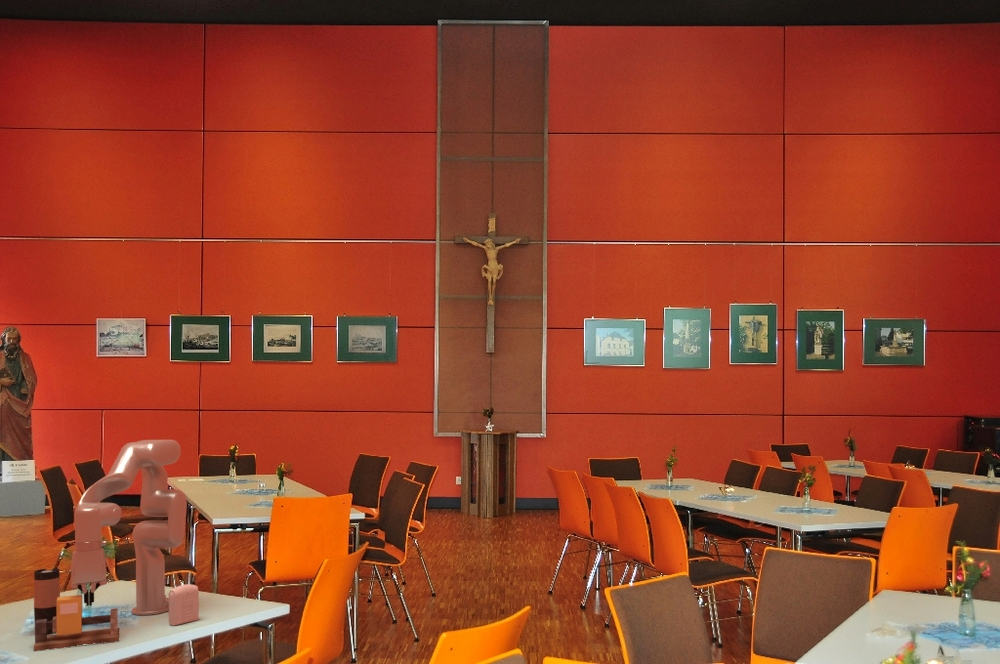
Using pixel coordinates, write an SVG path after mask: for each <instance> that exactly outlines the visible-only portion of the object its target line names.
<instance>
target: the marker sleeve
mask: <svg viewBox="0 0 1000 664" xmlns="http://www.w3.org/2000/svg"><path fill="white" fill-rule="evenodd" d="M82 618H83V594H75V595H74V594H73V595H66V596H60V597H58V598H57V633H56V635H66V634H75V633H82V632H83V626H82Z"/></svg>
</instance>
